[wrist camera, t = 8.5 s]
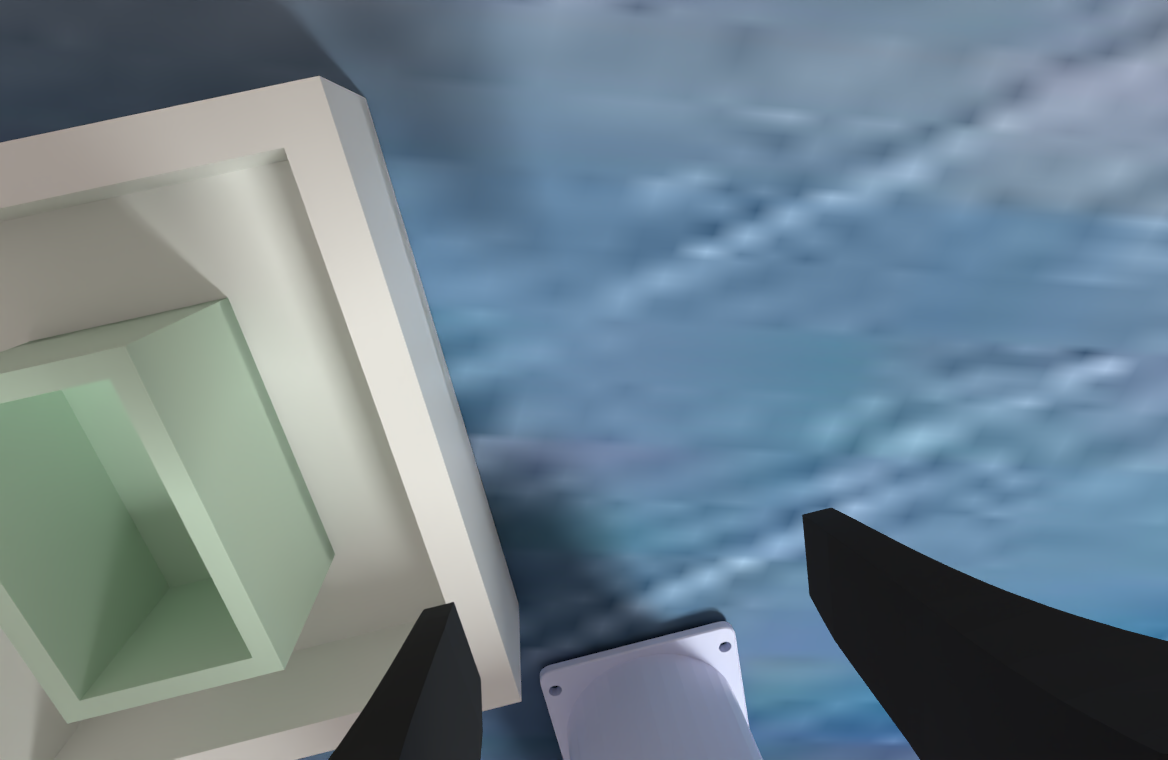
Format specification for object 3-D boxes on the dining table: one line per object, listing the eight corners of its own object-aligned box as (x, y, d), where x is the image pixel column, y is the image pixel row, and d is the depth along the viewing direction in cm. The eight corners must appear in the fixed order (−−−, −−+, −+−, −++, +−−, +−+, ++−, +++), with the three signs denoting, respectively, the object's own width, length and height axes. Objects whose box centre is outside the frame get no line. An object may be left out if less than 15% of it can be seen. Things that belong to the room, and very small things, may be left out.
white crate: (518, 604, 23) (521, 701, 19) (98, 709, 23) (4, 834, 18) (365, 97, 17) (319, 75, 13) (-223, 222, 16) (-476, 242, 12)
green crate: (335, 554, 20) (284, 669, 16) (168, 594, 20) (67, 723, 16) (228, 297, 17) (124, 345, 13) (29, 341, 17) (-151, 407, 12)
